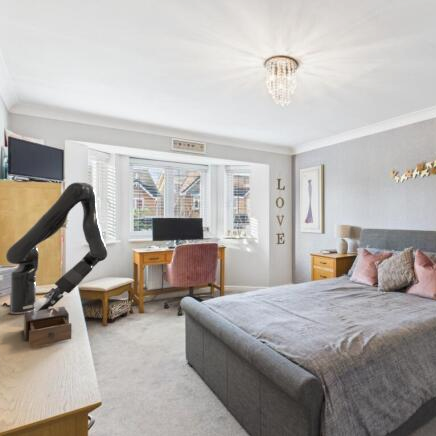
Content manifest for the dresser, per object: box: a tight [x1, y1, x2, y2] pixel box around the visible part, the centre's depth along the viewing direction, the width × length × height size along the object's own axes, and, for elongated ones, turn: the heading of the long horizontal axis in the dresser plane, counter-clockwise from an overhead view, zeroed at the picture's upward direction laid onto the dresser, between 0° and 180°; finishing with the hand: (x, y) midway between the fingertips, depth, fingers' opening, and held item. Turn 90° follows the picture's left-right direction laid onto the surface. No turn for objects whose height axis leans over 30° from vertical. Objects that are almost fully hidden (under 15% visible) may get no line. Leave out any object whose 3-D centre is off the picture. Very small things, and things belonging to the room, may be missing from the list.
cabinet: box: [23, 306, 70, 341], centre depth 130 cm, size 14×14×8 cm
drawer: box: [28, 317, 72, 349], centre depth 120 cm, size 14×12×6 cm
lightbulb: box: [34, 296, 52, 311], centre depth 141 cm, size 6×6×11 cm
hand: (38, 310), depth 140 cm, fingers closed on lightbulb, 6 cm apart
